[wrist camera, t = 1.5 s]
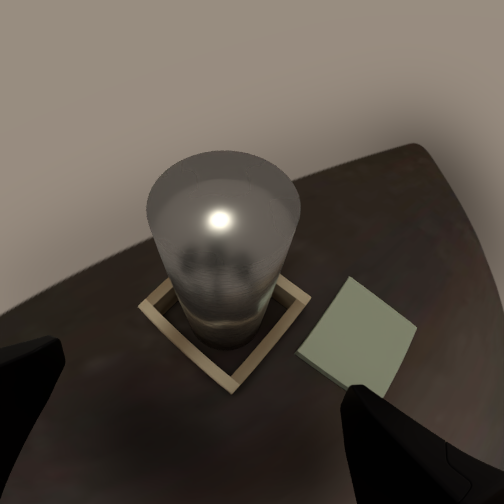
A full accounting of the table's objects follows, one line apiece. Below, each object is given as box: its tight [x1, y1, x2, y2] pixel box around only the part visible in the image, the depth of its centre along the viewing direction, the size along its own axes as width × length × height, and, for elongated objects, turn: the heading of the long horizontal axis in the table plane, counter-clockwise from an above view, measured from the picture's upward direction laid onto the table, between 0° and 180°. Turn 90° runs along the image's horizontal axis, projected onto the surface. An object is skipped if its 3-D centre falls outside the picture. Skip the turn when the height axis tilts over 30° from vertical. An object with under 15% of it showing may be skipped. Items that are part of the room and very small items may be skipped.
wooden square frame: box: [138, 274, 311, 395], centre depth 20 cm, size 9×9×2 cm
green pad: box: [294, 277, 417, 398], centre depth 20 cm, size 8×8×1 cm
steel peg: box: [146, 151, 300, 350], centre depth 15 cm, size 6×6×13 cm
